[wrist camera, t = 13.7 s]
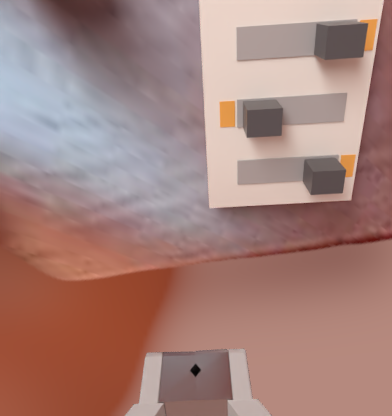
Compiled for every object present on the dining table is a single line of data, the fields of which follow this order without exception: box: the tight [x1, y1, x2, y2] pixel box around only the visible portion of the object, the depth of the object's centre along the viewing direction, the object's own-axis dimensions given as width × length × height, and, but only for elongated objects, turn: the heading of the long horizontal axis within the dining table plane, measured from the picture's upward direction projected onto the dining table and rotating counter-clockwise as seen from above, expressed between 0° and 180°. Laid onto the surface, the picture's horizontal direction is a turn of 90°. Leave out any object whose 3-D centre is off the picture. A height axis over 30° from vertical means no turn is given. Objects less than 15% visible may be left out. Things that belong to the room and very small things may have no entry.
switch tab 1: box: [243, 100, 283, 138], centre depth 33 cm, size 3×2×3 cm
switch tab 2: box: [314, 21, 368, 60], centre depth 30 cm, size 3×2×3 cm
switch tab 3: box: [303, 158, 346, 195], centre depth 36 cm, size 3×2×3 cm
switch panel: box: [199, 0, 384, 208], centre depth 36 cm, size 15×20×4 cm
